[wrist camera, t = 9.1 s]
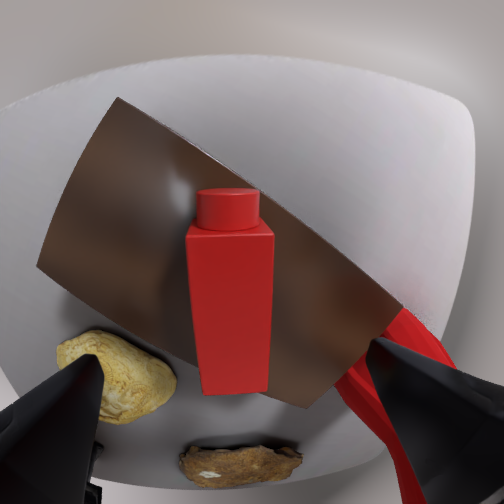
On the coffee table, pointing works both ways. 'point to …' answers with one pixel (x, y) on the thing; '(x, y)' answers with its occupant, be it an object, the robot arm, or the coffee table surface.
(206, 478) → the decorative rock
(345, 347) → the shelf
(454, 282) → the coffee table surface
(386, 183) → the coffee table surface
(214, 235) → the red square bottle
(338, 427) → the coffee table surface
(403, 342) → the water bottle
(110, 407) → the fossil
